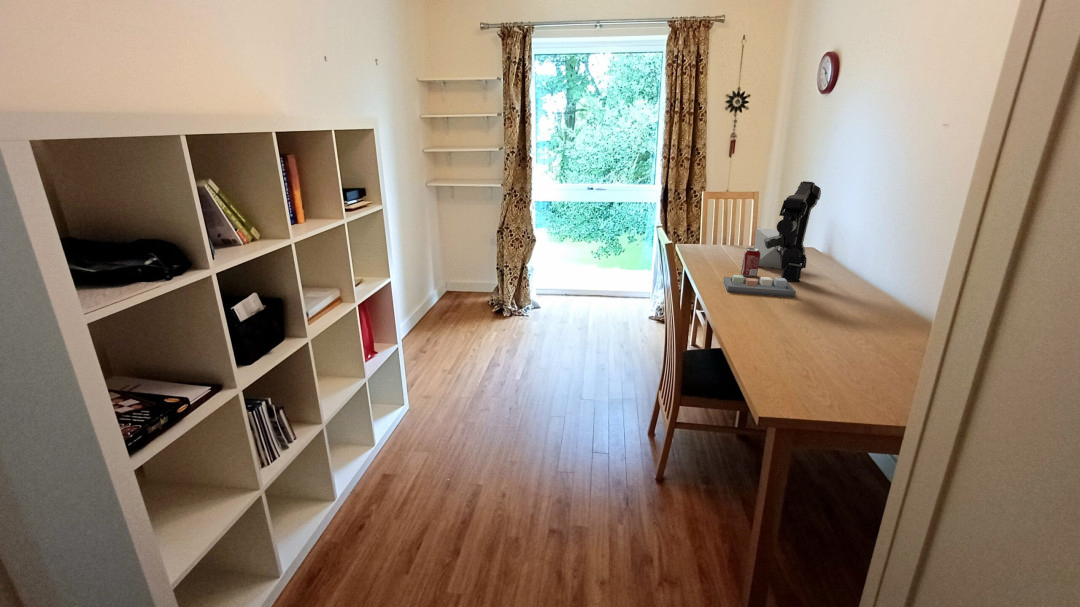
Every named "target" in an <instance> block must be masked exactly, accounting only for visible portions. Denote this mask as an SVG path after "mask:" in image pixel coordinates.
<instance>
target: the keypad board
mask: <svg viewBox="0 0 1080 607" xmlns="http://www.w3.org/2000/svg"><path fill="white" fill-rule="evenodd" d="M732 277H733V276H723V282H722V283H723V285H724V287H725V289H726V292H727V293H734V294H735V293H736V294H747V295H756V294H759V296H769V295H773V296H772V297H781V296H783V297H785V298H795V297H796V293H797V291H796V290H795V289H794V288H793V286H792V285H791V283H790V282H789V281H787V284H786V287H776V286H775V285H774V279H772V280H773V281H772V286H762V285H761V284H760V278H756V279H757V281H758V283H757V287H754V286H746V284H745V283H746V278H747V277H744V282H743V284H736V283H733V282H732Z"/></svg>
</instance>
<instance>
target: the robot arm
mask: <svg viewBox="0 0 1080 607" xmlns="http://www.w3.org/2000/svg"><path fill="white" fill-rule="evenodd" d="M821 194H822V190H821V187H819V186H818V185H816V184H815V182H814V181H804V180H803V181H800V183H799V185H798V186H797V189H796V191H795V193H794V194H791V195H788V196H787V197H786V199H784V200H783V202H782V205H781V209H780V212H779V216H780V217H782V219H781V220H779V221H778V222H777V224H776V230H777V231H778V232H779V235H778V236H773V237H770V238H766V239H764V243H765V247H766V248H767V249H770V248H772V247H776V246H778V247H779V248H778V250H776V251H777V252H778V253H779V255H780V263H781V268H780V269H781V276H780V278H785V279H786V280H787V282H797V283H801V274H802V269H806V268H807V262H808V260H807V259H808V258H807V255H806V248H805V246H804V241H805V237H806V232H807V228H808V224H809V220H810V215H811V211H812V210H813V209H814V207H816V206H817V204H818V201H819V200H820V199H821Z"/></svg>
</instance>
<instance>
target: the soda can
mask: <svg viewBox="0 0 1080 607" xmlns="http://www.w3.org/2000/svg"><path fill="white" fill-rule="evenodd" d="M759 251H760V250H759V249H757V248H754V247H747V248H745V250H744V251H743V256H742V262H741V269H740V275H743V277H745V278H754V277H756V276H758V271H759V260H760V252H759Z"/></svg>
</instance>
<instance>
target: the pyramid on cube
mask: <svg viewBox="0 0 1080 607" xmlns="http://www.w3.org/2000/svg"><path fill="white" fill-rule="evenodd" d="M778 235H779V232H778V231H777V229H772V228H758V227H757V228H756V231H755V237H754V244H753V246H754V247H753V248H757V249H759V250H760V251H759V252H760V260H759V266H764V267H763V268H770V267H774V268H773V269H781V263H780V255H779V253H778V252H777V251H776V250H778V248H779V247H778V246H776V247H772V248H770V249H767V248H766V247H765V243H764V239H766V238H770V237H773V236H778ZM759 266H758V267H759Z"/></svg>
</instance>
